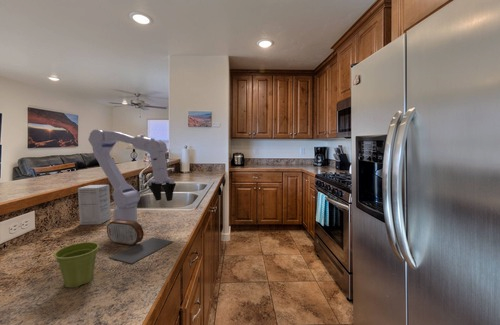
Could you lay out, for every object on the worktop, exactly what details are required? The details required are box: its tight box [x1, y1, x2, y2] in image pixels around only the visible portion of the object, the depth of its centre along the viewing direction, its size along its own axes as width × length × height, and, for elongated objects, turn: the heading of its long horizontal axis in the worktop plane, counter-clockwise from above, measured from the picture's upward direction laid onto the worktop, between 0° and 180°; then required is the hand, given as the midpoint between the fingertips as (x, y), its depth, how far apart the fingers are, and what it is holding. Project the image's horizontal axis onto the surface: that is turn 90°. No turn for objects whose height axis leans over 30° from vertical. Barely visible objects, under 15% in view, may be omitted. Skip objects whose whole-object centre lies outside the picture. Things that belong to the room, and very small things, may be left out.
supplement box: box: [77, 184, 112, 226], centre depth 112 cm, size 10×9×17 cm
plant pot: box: [53, 241, 100, 289], centre depth 62 cm, size 9×9×9 cm
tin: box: [106, 219, 145, 246], centre depth 87 cm, size 15×3×8 cm, turn 71°
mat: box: [108, 236, 174, 265], centre depth 82 cm, size 10×18×1 cm, turn 157°
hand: (164, 200), depth 102 cm, fingers open, 7 cm apart
